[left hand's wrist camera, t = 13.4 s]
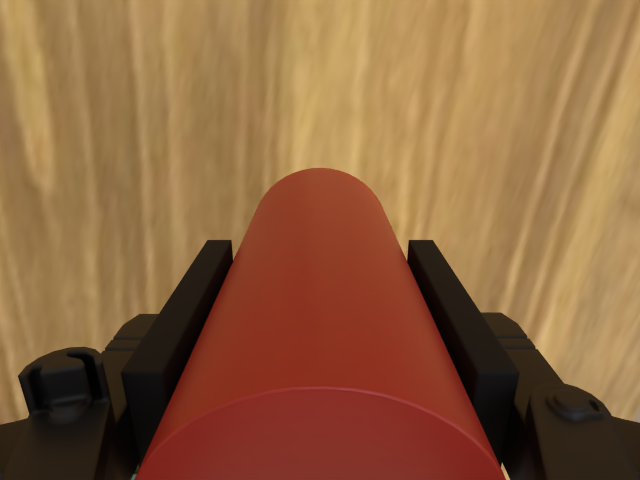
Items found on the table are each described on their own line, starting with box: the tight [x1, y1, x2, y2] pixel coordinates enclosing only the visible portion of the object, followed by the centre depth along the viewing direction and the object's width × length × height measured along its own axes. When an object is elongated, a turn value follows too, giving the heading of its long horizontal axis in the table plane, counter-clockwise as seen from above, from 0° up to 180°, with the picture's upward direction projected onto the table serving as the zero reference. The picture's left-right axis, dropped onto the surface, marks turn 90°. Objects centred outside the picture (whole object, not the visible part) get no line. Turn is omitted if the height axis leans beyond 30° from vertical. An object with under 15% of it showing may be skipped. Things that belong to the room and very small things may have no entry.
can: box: [134, 168, 506, 480], centre depth 12 cm, size 6×6×13 cm
